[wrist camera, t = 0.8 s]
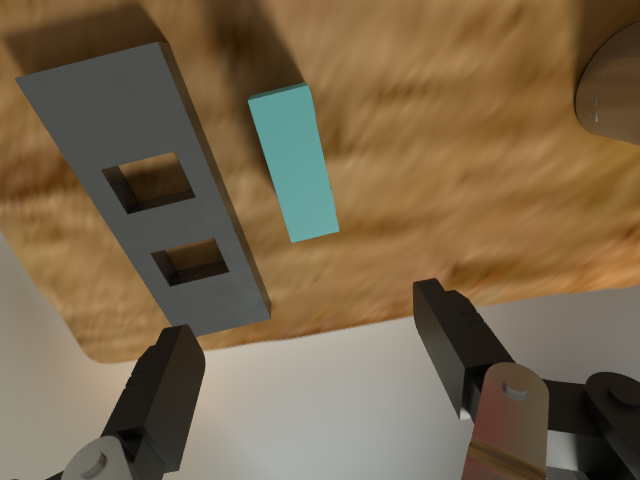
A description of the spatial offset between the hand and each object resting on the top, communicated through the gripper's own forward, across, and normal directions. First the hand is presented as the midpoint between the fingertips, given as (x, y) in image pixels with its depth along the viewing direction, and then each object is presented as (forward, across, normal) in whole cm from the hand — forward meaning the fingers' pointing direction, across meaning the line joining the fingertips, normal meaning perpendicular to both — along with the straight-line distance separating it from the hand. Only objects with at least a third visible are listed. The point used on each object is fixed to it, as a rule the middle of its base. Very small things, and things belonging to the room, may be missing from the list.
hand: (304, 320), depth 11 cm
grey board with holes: (+20, +12, +3) cm, 23 cm away
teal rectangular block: (+20, 0, -1) cm, 20 cm away
